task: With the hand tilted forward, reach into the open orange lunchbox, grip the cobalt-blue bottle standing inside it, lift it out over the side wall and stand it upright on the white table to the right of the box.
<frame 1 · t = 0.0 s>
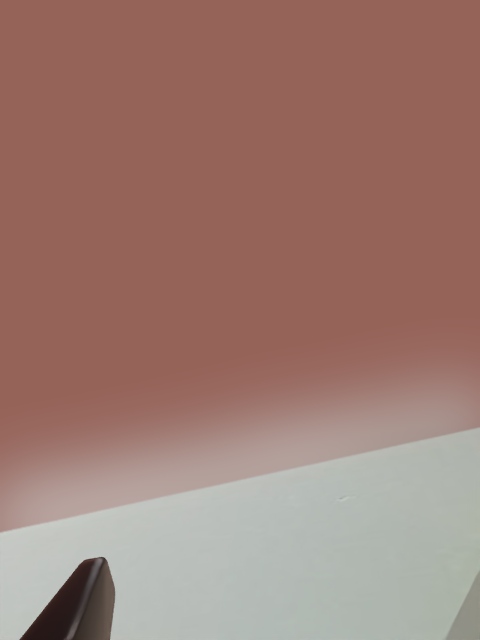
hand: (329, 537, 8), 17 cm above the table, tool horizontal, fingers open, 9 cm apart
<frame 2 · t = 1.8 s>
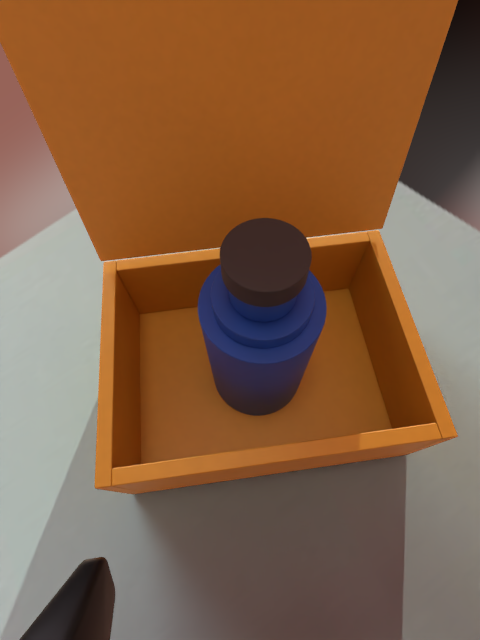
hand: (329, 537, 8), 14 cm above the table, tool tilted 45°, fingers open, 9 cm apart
lunchbox: (256, 376, 23), on the table
lunchbox lid: (234, 114, 17), point 12 cm above the table, hinge at 100.0°
bottle: (256, 372, 23), point 1 cm above the table, touching lunchbox
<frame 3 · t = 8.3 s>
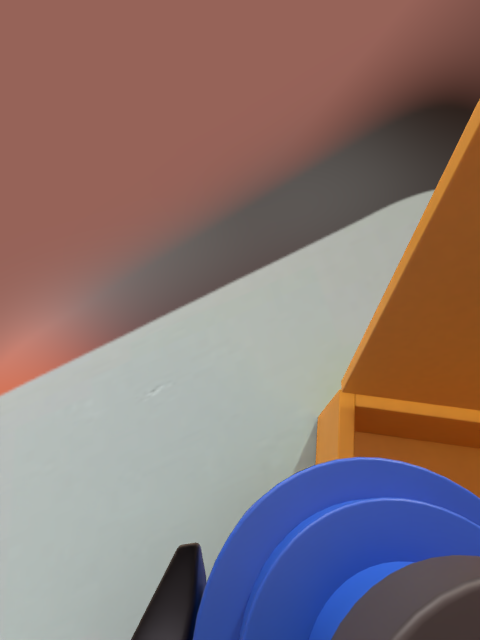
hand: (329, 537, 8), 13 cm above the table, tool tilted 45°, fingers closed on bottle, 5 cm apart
lunchbox: (466, 551, 19), on the table
bottle: (303, 573, 12), point 8 cm above the table, touching gripper
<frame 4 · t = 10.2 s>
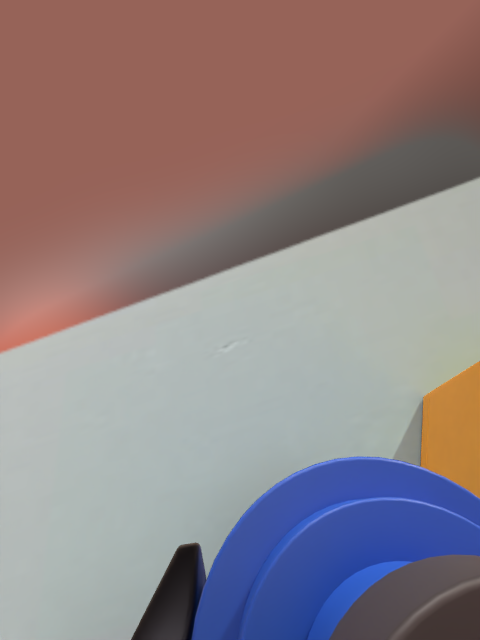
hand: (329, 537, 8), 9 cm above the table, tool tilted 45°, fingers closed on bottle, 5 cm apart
bottle: (303, 573, 12), point 3 cm above the table, touching gripper
when the fingers open (6 cm above the table, at t = 11.6 s): bottle stays where it is, on the table.
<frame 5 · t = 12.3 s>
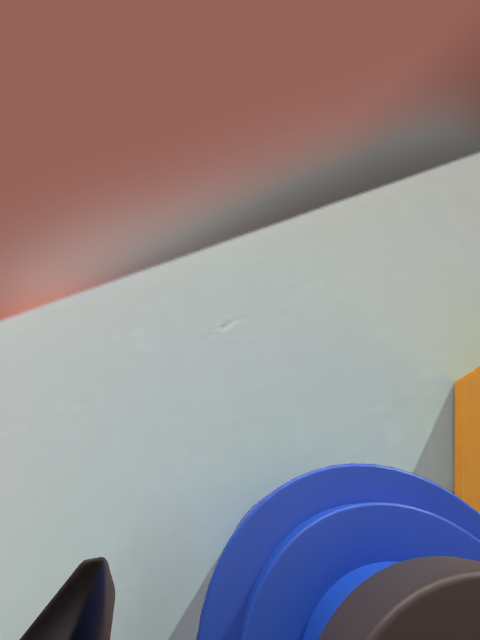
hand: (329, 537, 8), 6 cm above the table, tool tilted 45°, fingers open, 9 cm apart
bottle: (302, 573, 13), on the table
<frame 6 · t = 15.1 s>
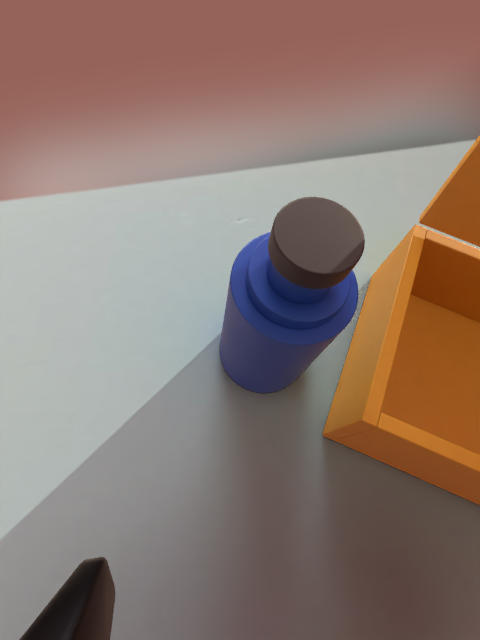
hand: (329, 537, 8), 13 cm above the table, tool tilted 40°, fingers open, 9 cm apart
lunchbox: (467, 398, 23), on the table
bottle: (262, 350, 23), on the table
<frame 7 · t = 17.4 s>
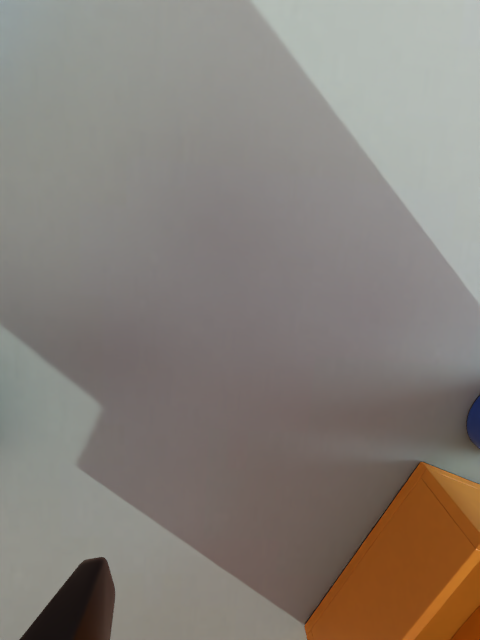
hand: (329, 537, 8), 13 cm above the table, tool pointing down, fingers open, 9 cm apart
lunchbox: (425, 570, 27), on the table
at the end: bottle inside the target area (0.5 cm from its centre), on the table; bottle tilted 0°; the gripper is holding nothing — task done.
